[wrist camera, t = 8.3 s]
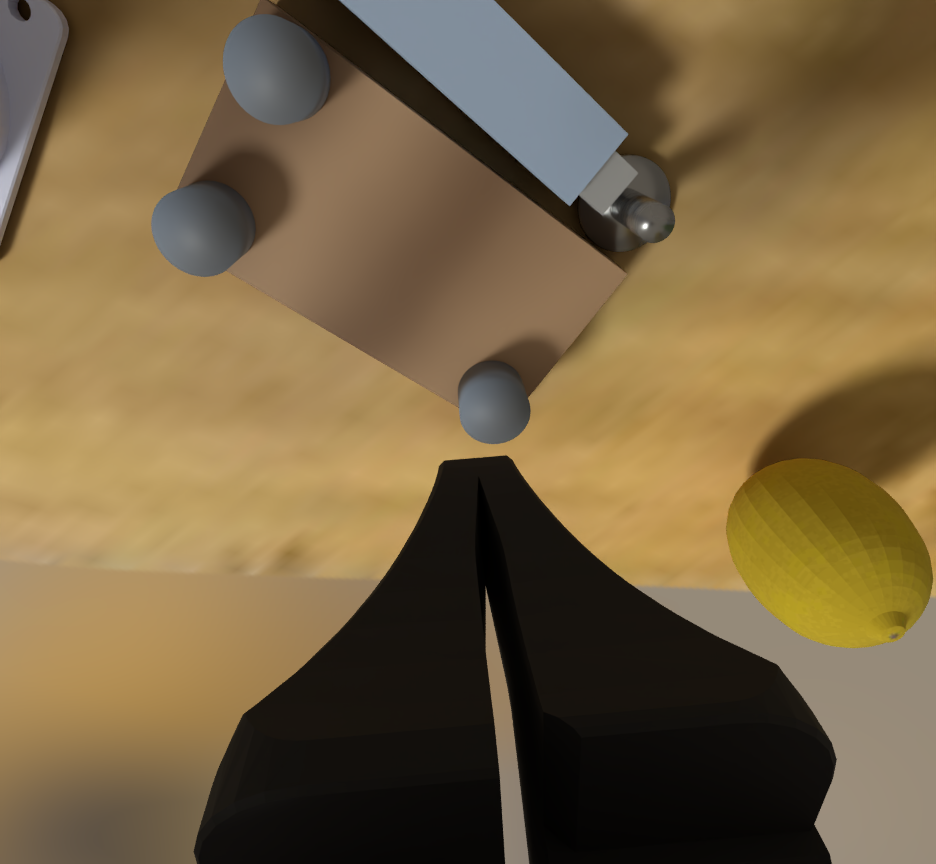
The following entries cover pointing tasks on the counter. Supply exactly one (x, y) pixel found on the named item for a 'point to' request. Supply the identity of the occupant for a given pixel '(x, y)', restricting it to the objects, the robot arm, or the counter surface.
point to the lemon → (829, 553)
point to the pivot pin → (632, 211)
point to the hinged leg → (508, 91)
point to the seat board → (379, 227)
